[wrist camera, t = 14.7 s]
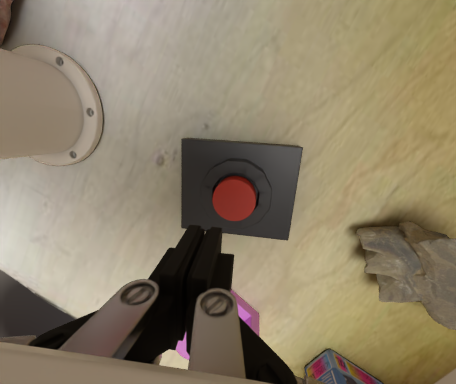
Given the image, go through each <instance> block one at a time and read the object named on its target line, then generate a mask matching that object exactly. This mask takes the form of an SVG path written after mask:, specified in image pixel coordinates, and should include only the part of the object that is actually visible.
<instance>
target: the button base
mask: <svg viewBox="0 0 456 384" xmlns="http://www.w3.org/2000/svg"><path fill="white" fill-rule="evenodd" d="M302 150H303V147H300V146H295V145H281V144H267V143H253V142H239V141H225V140H211V139H197V138H183V139H182V228H185V229H187V228H188V226H189V225H200V226H201V228H202V229H204V230H205V231H206V230H207V229H211V227H219V228H222V233H228V234H237V235H245V236H254V237H263V238H271V239H280V240H288V238H289V231H290V225H291V219H292V213H293V206H294V200H295V194H296V188H297V181H298V175H299V169H300V163H301V156H302ZM230 176H241V177H243V178H246V179H247V180H248V181H250V182H251V183H252V185H253V186H254V189H255V192H256V205H255V208H254V210H253V212H252V213H251V214H250V215H249V216H248V217H247V218H245V219H243V220H240V221H230V220H227V219H224V218H223V217H221V216H220V215H219V214H218V213H217V212H216V210H215V208H214V206H213V202H212V198H213V193H214V191H215V189H216V187H217V186H218V184H219V183H220V182H221V181H222V180H223V179H225V178H227V177H230Z"/></svg>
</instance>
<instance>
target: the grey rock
mask: <svg viewBox="0 0 456 384" xmlns="http://www.w3.org/2000/svg"><path fill="white" fill-rule="evenodd" d="M356 233H357V235H358V236H360V242H361V244H362V248H363V249H366V253H365V261H366V263H367V264H366V266H365V269H364V272H365V273H373V274H377V281H378V284H379V301H382V302H399V303H402V302H414V301H421V302H422V304H423V305H424V307H425V308H426V310H427V312H428V314H429V315H430V316H431V317H432V318H433V319H434V320H435V321H436V322H438V323H439V324H441V325H443V326H445V327H447V328H449V329H453V330H456V239H450V238H449V237H448V236H447V235H446V234H441V233H437V232H432V231H427V230H423V229H422V228H421V227H419V226H417V225H416V224H414V223H412V222H410V221H409V222H402V223H400V224H399V227H397V226H384V227H366V228H360V229H358V230H357V232H356Z"/></svg>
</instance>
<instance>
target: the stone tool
mask: <svg viewBox="0 0 456 384" xmlns="http://www.w3.org/2000/svg"><path fill="white" fill-rule="evenodd" d="M12 2H13V0H0V45H1V44H2V42H3V39H4V36H5V33H6V31H7V28H8V25H9V22H10V18H11V3H12Z"/></svg>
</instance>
